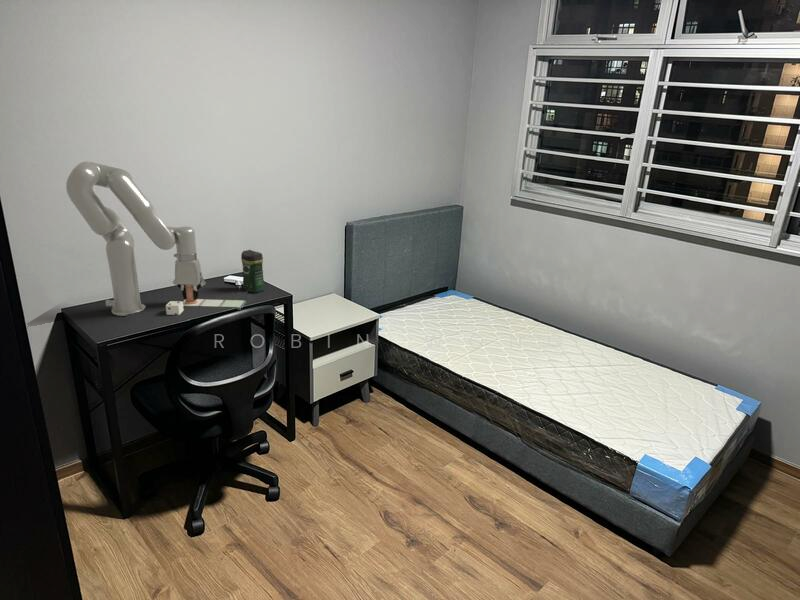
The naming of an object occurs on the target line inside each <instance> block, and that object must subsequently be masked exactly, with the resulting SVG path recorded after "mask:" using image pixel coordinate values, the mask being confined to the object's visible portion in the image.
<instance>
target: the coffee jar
mask: <svg viewBox="0 0 800 600" xmlns="http://www.w3.org/2000/svg"><path fill="white" fill-rule="evenodd" d="M263 260H264V257H263V253H261V252H259V251H255V250H251V249H247V250H243V251H242V252H241V263H242V289H244V290H246V291H248V292H249V293H251V294H252V293H261V292H263V291H264V290H265V279H264V270H263V262H264V261H263Z"/></svg>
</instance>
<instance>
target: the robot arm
mask: <svg viewBox="0 0 800 600" xmlns="http://www.w3.org/2000/svg"><path fill="white" fill-rule="evenodd" d="M94 186H97V187H101V188H107V189H109V190H110V191H111V192H112V193H113V195H114V196H115V197H116V198H117V199H118V201H119V202H120V203H121V204H122V205H123V206H124V207H125V209H126V210H127V212H129V213H130V215H131V216H132V217H133V219H134V220H135V222H137V224H138V225H139V226H140V228H141V230H143V232H144V233H145V234H146V235H147V237H148V238H149V239H150V240H151V242H153V244H154V245H155V246H156V247H157V248H159V249H160V250H164V251H168V250H171V249H172V248H173V247H174V246H176V248H175V249H176V253H173V258H176V260H175V262H174V263H175V265H174V279H173V282H172V284H173V285H175V286H177V287H178V289H180V290H181V291H182V292H181V293H182V297H183V301H184V300H186V288H185V285H193V287H194V291H193V295H194V300H196V299H199V297H200V295H199V294H200V292H199V289H200V288H202V287H204V286H205V285H206V284H207V282H206V281H205V279H204V277H203V271H202V266H201V263H200V261H199V259H198V258H197V245H196V233H195V229H194V228H193V227H191V226H179V227H177V226H176V227H174V226H166V225H165V224H164V223H163V222H162V220H161V218H160V217H159V215H158V214H157V213H156V209H155V208H154V206H153V204H152V203H151V201H150V199H148V197H146V195H145V194H144V192H142V190H141V189H140V188H139V187H138V185H137V184H136V183H135V182H134V180H133V177H132V175H131V174H130V172H128V171H127V170H125V169H122V168H117V167H113V166H109V165H105V164H101V163H98V162H93V161H83V162H79V163H78V164H77V165H76V166H75V167H74V168H73V169H72V170H71V172H70V174H69V175H68V177H67V179H66V186H65V187H66V188H65V189H66V192H67V195H68V197H69V199H70V201H71V202H72V204H73V205H74V207H75V208H76V209H77V210H78V212H79V214H80V215H81V216H82V218H83V219H84V221H85V222H86V223H87V224H88V226H89V227H90V229H91V230H92V231H93V232H94V233H95V234H97V235H99V236H102V238H103V239H104V241H105V242H106V246H105V251H106V259H107V262H108V268H109V275H110V281H111V287H112V288H111V289H112V292H113V293H112V295H113V300H110V299H106V300H105V306H106V307H111V313H112V314H113V315H115V316H118V317H119V316H120V317H124V316H125V317H126V316H128V315H129V314H130V315H131V314H135V313H140V312H141V311H143V310H145V309H146V305H145V304H143V303H142V301H141V294H140V288H139V281H138V280H139V279H138V272H137V265H136V259H135V251H134V250H135V249H134V248H135V240H134V237H133V234H131V232H130V231H129V229H128V228H127V227H126V225H125V224H124V222H123V221H122V219H120V217H119V216H118V214H117V213H116V212H115V211H114V210H113V209H112V208H110V207H106V206H105V205H104V204H103V202H102V201H101V199H100V198H99V196H98V195H97V194H96V193H95V191H94Z"/></svg>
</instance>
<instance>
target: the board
mask: <svg viewBox="0 0 800 600" xmlns="http://www.w3.org/2000/svg"><path fill="white" fill-rule="evenodd" d="M246 303H247V301H246V300H240V299H239V300H238V299H233V300H232V299H203V298H197V303H195V304H186V303H185V300H184V299H183V307H185V306H186V307H199V306H200V307H216V308H217V307H220V308H221V307H222V308H225V307H227V308H229V307H230V308H235V309H234V310H236V309H237V311H238V310H240V311H241V310H242V309H243V307H244V306H245V304H246ZM241 308H242V309H241Z"/></svg>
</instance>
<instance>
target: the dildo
mask: <svg viewBox="0 0 800 600" xmlns="http://www.w3.org/2000/svg"><path fill="white" fill-rule="evenodd" d="M185 288H186V300H185V303H186V304H195V303H197V299H198V298H197V299H196V300H194V295H193V291H194V287H193V285H185Z"/></svg>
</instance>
